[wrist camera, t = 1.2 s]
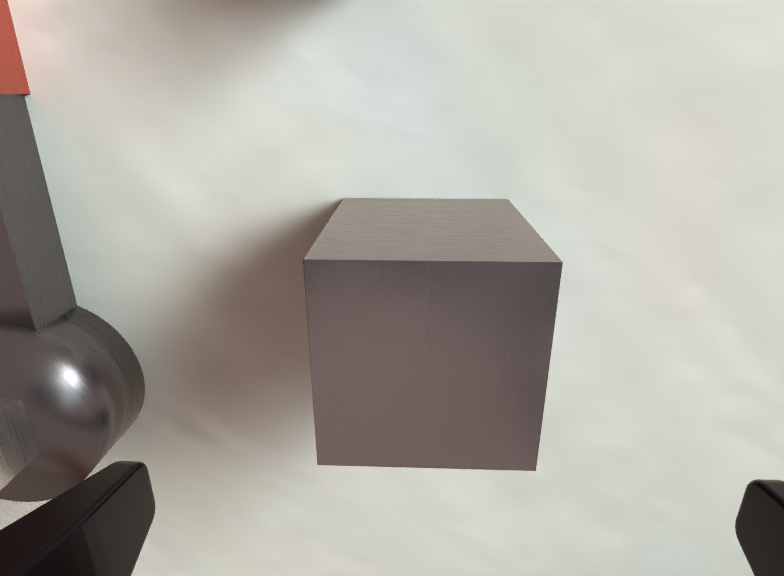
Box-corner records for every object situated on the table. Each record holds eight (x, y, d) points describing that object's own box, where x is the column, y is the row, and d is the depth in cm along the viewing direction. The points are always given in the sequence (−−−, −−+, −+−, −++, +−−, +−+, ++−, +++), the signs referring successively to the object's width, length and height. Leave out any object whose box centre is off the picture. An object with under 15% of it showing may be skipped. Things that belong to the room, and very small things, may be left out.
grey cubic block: (495, 346, 17) (535, 470, 11) (348, 343, 17) (317, 464, 12) (508, 199, 15) (562, 262, 10) (343, 198, 15) (302, 259, 10)
